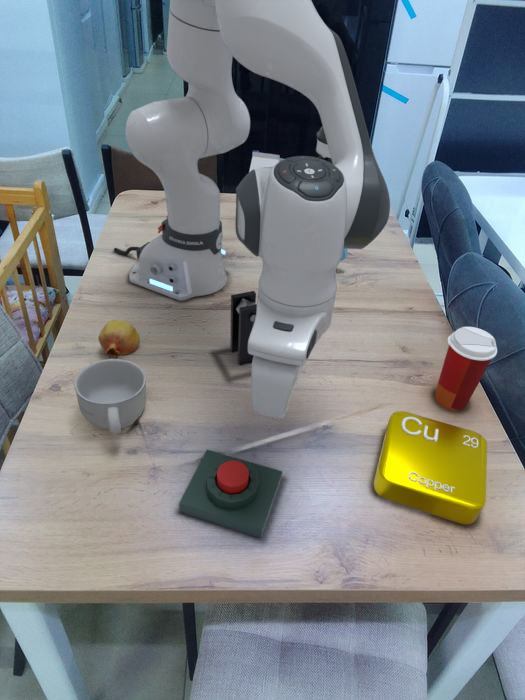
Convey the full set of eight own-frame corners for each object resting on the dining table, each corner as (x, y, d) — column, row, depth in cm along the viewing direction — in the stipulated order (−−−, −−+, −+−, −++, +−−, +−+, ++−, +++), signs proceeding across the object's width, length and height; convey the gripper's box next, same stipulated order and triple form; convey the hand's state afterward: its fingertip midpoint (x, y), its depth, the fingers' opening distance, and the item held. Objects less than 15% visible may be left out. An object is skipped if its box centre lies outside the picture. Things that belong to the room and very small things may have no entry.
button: (212, 488, 70) (212, 481, 69) (223, 464, 73) (223, 456, 72) (242, 498, 69) (242, 490, 68) (252, 472, 72) (252, 465, 71)
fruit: (103, 309, 97) (85, 341, 89) (136, 305, 96) (121, 336, 88) (116, 338, 101) (100, 370, 93) (148, 334, 100) (135, 366, 92)
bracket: (261, 342, 101) (264, 283, 92) (277, 367, 95) (283, 307, 86) (213, 353, 97) (212, 293, 89) (228, 380, 92) (228, 318, 83)
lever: (290, 327, 99) (301, 312, 97) (299, 339, 96) (310, 323, 95) (232, 309, 90) (242, 292, 88) (239, 321, 87) (250, 303, 86)
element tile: (370, 495, 74) (376, 475, 71) (387, 424, 85) (393, 404, 82) (475, 530, 71) (487, 510, 68) (479, 451, 82) (489, 432, 79)
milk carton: (272, 229, 139) (277, 159, 127) (247, 225, 140) (249, 156, 128) (276, 218, 145) (281, 151, 133) (252, 215, 146) (255, 147, 133)
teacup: (89, 391, 88) (81, 357, 83) (152, 390, 89) (148, 355, 84) (73, 456, 77) (62, 420, 72) (145, 453, 78) (139, 418, 73)
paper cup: (472, 391, 93) (499, 331, 84) (472, 420, 87) (500, 359, 78) (429, 380, 95) (451, 320, 86) (426, 408, 89) (448, 346, 80)
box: (179, 512, 71) (178, 495, 68) (207, 458, 78) (206, 441, 76) (261, 538, 68) (262, 522, 66) (281, 480, 76) (283, 463, 73)
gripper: (291, 260, 67) (283, 341, 76) (242, 352, 52) (240, 440, 61) (337, 268, 66) (324, 350, 75) (301, 365, 51) (290, 454, 59)
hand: (286, 391), depth 68 cm, fingers closed
